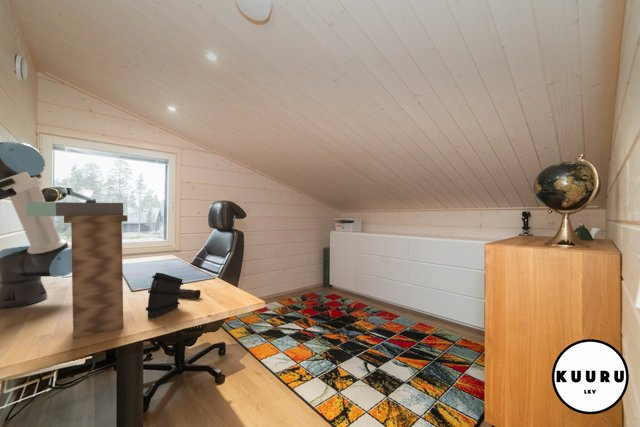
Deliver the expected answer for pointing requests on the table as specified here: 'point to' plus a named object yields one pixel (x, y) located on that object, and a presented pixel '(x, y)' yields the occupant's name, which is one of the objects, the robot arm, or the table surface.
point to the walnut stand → (96, 273)
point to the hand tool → (189, 293)
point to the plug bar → (72, 209)
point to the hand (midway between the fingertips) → (34, 178)
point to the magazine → (163, 295)
